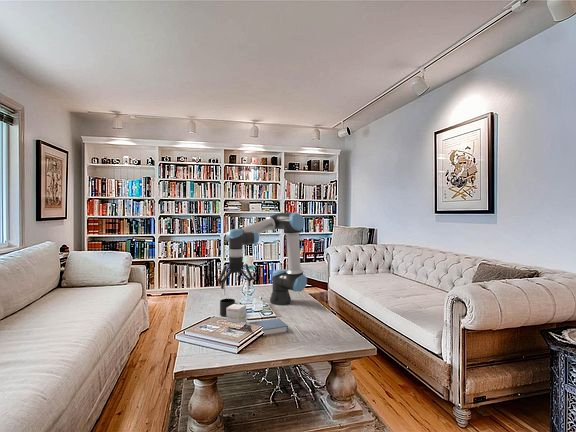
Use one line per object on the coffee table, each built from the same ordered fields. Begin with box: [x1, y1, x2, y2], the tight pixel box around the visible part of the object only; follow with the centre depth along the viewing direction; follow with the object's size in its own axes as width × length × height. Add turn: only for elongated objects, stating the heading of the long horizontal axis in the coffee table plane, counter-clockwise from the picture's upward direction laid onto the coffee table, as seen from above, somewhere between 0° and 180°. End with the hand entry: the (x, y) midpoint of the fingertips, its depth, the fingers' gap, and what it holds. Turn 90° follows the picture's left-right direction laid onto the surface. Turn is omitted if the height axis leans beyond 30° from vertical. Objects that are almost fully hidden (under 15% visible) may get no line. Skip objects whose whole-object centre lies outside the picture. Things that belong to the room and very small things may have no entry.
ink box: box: [226, 303, 247, 323], centre depth 183 cm, size 9×8×12 cm
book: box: [249, 317, 289, 337], centre depth 178 cm, size 18×13×4 cm
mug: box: [219, 298, 238, 318], centre depth 203 cm, size 9×12×9 cm
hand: (235, 293), depth 183 cm, fingers open, 13 cm apart
